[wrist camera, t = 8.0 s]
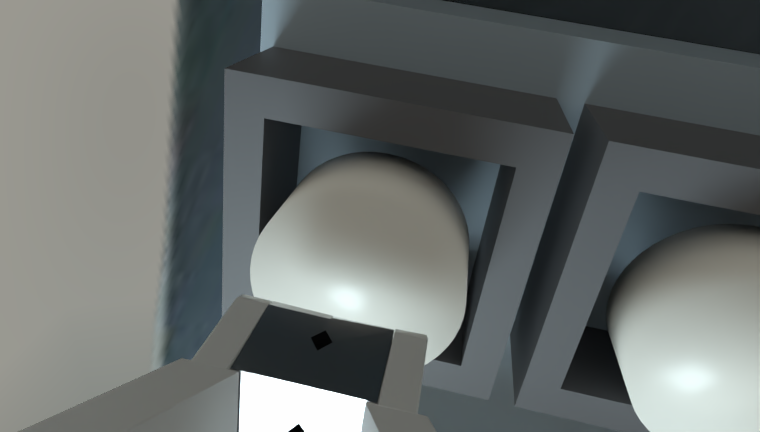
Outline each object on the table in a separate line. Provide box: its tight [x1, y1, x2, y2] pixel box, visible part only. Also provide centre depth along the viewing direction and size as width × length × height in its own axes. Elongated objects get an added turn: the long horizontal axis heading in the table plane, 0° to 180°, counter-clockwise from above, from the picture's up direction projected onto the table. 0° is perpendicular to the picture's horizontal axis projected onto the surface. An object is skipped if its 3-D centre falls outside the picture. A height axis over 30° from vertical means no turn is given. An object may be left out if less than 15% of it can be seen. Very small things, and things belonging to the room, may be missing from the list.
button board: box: [222, 0, 760, 432], centre depth 14 cm, size 21×14×6 cm, turn 82°
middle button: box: [606, 224, 760, 432], centre depth 10 cm, size 4×4×2 cm
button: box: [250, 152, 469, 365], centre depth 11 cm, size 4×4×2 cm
